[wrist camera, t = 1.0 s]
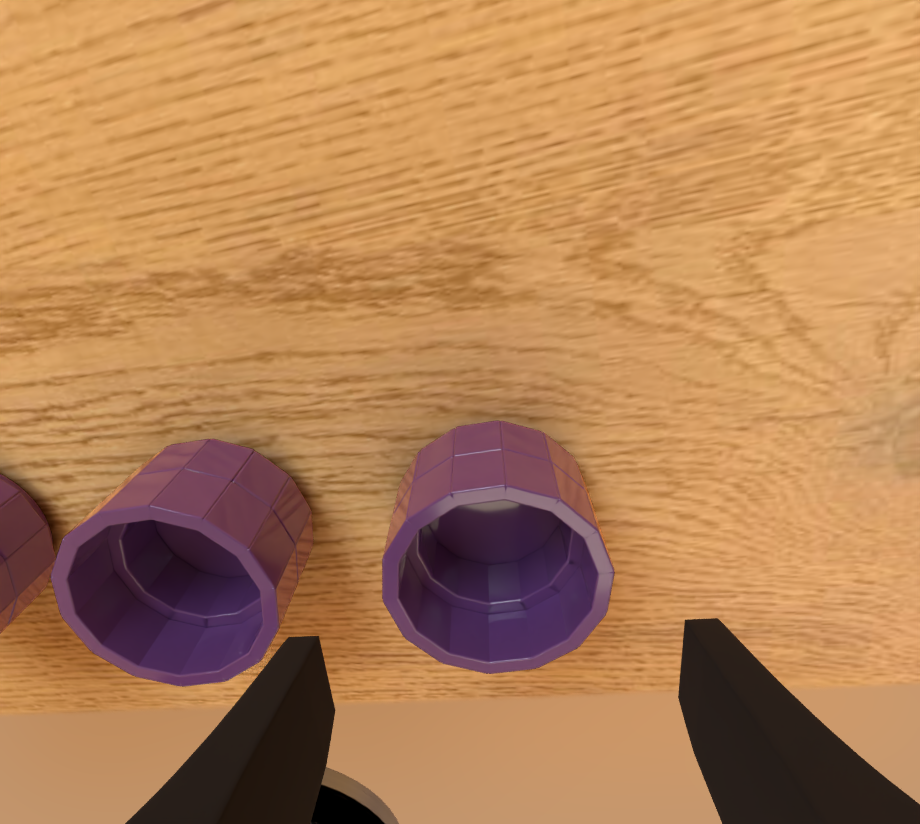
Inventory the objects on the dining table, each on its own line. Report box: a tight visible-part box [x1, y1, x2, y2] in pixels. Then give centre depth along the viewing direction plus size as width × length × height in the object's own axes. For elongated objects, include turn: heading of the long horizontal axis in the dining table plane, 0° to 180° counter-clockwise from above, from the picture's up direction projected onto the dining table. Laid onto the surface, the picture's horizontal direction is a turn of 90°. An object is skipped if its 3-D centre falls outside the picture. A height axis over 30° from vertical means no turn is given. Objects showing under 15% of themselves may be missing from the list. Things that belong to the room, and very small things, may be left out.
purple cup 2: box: [382, 421, 615, 674], centre depth 16 cm, size 5×6×4 cm
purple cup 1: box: [51, 439, 313, 686], centre depth 16 cm, size 5×6×4 cm
